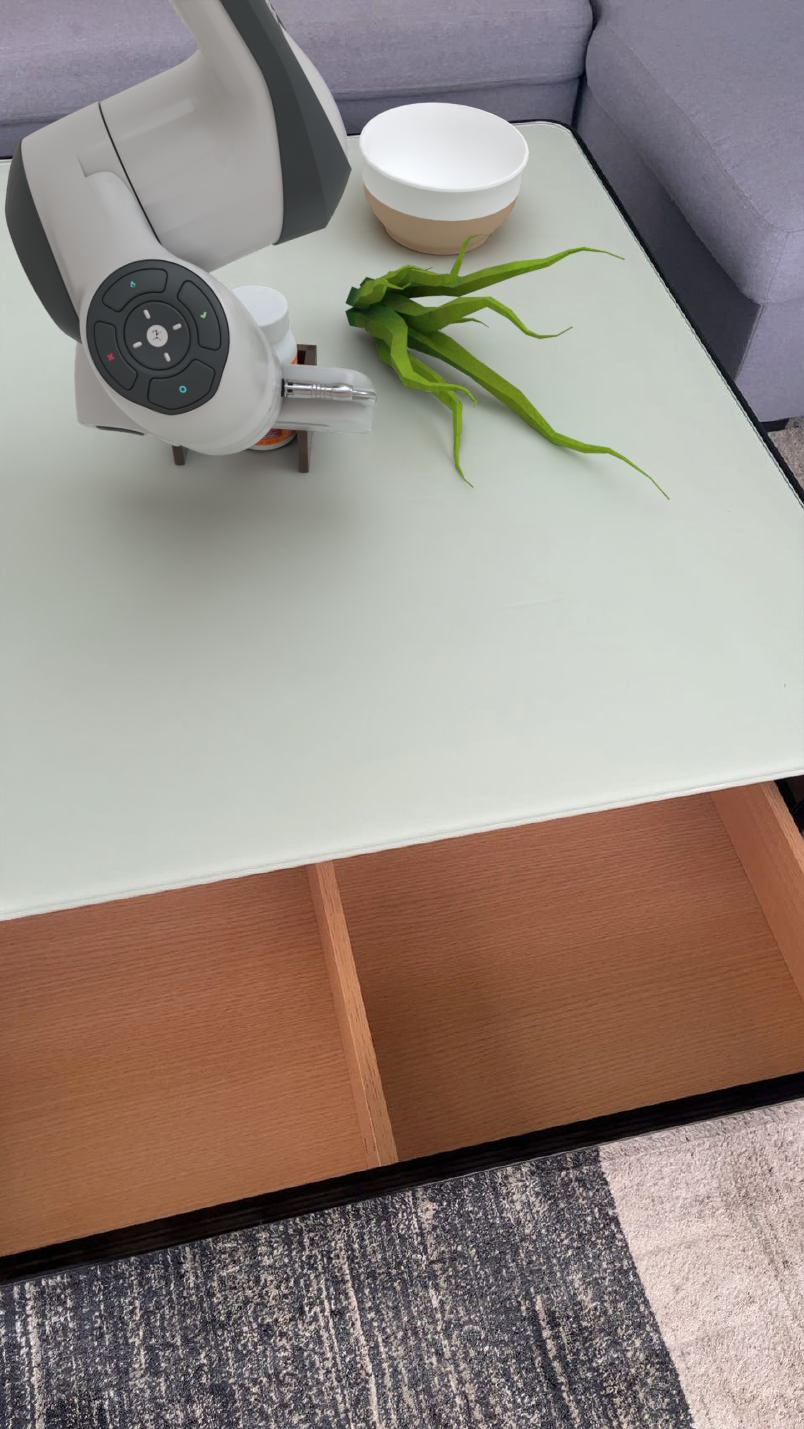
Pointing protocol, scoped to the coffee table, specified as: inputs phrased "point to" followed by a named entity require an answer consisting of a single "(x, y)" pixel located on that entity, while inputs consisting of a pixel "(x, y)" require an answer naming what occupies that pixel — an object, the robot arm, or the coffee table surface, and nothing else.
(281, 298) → the pill bottle
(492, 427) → the coffee table surface
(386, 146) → the bowl
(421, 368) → the decorative plant
